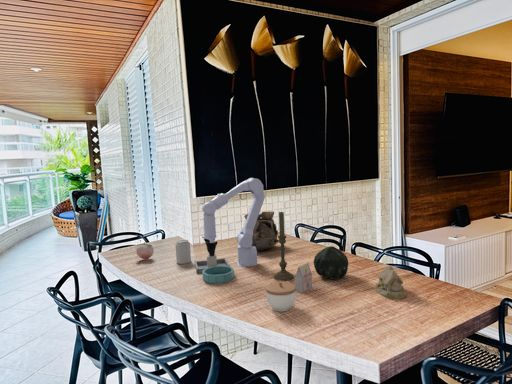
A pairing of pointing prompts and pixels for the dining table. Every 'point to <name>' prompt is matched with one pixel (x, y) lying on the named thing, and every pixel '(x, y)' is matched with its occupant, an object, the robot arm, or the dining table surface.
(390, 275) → the ceramic model
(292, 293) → the lidded jar
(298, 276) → the milk carton
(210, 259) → the gray rectangular block
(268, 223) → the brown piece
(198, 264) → the parts tray
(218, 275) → the bowl
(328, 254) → the squash
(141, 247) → the decorative fruit
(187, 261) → the can
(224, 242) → the dining table surface
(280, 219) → the candlestick holder
